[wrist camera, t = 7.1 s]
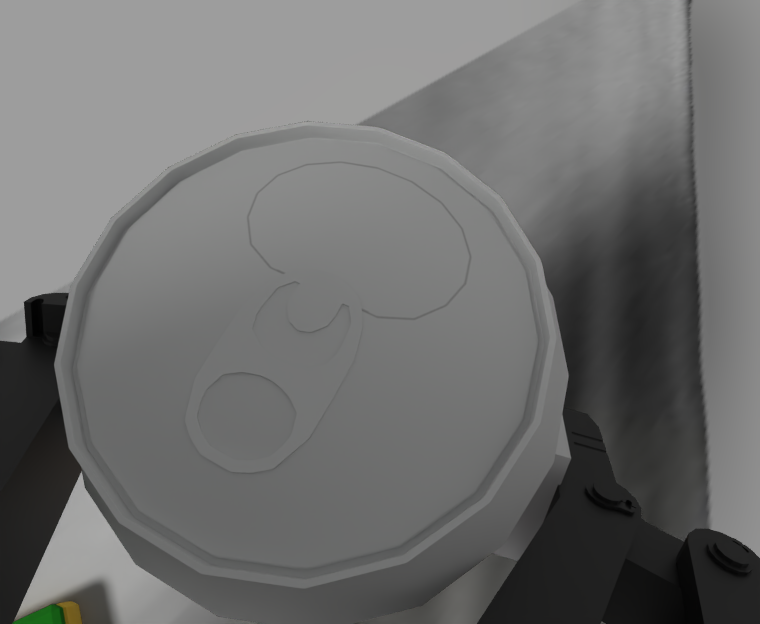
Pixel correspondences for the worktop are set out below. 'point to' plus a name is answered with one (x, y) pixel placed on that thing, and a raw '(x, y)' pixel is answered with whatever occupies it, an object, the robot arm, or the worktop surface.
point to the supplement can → (312, 374)
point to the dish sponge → (54, 615)
